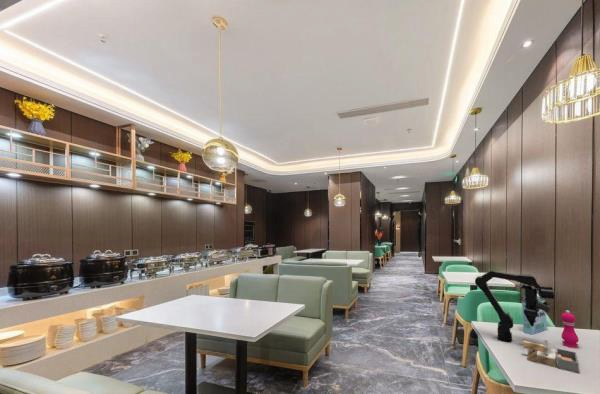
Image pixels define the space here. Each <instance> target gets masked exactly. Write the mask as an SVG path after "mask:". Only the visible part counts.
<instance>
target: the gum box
mask: <svg viewBox="0 0 600 394" xmlns="http://www.w3.org/2000/svg"><path fill="white" fill-rule="evenodd" d="M537 299H538V301H539V302H542V303H543V302H546V300H545V299H546V298H541V297H540V296H539V295H538V292H537ZM521 308H522V311H521V312H522V325H523V326H522V327H523V333H524V334H527V335H530V336H531V335H535V334H537V333H541V332H544V331H547V330H548V324H547V314H546V313H547V312H545V311H543V310H541V309H539V312H538V317H536V318H535V322H534V326H531V325H530V323H529V321H528V319H527V318H526V316H525V314H524V309H525V308H526V307H525V295H523V296H521ZM537 310H538V309H537Z"/></svg>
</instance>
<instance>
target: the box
mask: <svg viewBox="0 0 600 394" xmlns="http://www.w3.org/2000/svg"><path fill="white" fill-rule="evenodd" d="M558 354H559V355H561V356H562V357H566V358H571V359H572V361H573V362H572V361H568V360H563V359H559V358H558ZM555 359H556V368H557V369H560V370H564V371H569V372H573V373H577V374H580V367H579V366H580V365H579V360H578V356H577V352H575V351H571V350H566V349H562V348H556V351H555Z"/></svg>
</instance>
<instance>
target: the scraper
mask: <svg viewBox="0 0 600 394" xmlns="http://www.w3.org/2000/svg"><path fill="white" fill-rule="evenodd" d="M548 344H549V343H548V340H546V339H545V340H544V344H542V343H538V342H532V341H528V340H525V339H524V340H522V345H523V349H528V350H529V349H530V350H531V349H532V350H536V351H541V352H545V356H548V348H549V346H548Z"/></svg>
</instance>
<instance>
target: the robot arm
mask: <svg viewBox="0 0 600 394" xmlns="http://www.w3.org/2000/svg"><path fill="white" fill-rule="evenodd" d="M494 278H497V279H501V280H506V281H507V280H508V281H514V282H516V283H521V284H522V285H520V289H523V290H524V296H525V307H526V308H525V309H524V314H525V316H526V318H527V319H528V321H529V323H530V325H531V326H534V322H535V318H536V317H538V312H539V309H541V310H543V311H545V312H546V313H547V314H548V313H550V310H551V307H552V306H551V305H549V303H548V302H547V301H545V302H543V303H542V302H539V301H538V299H537V293H538V295H539V296H540V297H541V298H545V299H547V300H555V294H554V289H553V286H543V285H540V284H539V283H538V282H537V278H536V277H535V276H534V275H533V274H526V273H522V274H521V273H520V274H518V273H517V274H515V273H511V272H510V273H509V272H504V271H497V270H491V269H490V270H489V271H488V272H486V273H484V274H483V275H478V276H476V278H475V280H474V283H475V285H476V286H477V287H478V288H479V289H480V290H481V292H483V293H484V294H483V295H485V297H486V299H487V301H489V303H490V305H491V306H492V307H493V309H494V310H495V312H496V313H497V316H498V318H499V321H498V323H497V328H496V329H497V341H502V342H506V343H511V342H512V341H513V335H512V334H513V333H512V332H511V329H513V328H514V318H513V317H512V316H511V314H510V312H509V311H508V312H506V311H505V310H504V309H503V308H502V306H501V304H500V303H499V301H498V300H497V297H495V296H494V294H493V292H492V291H491V290H490V286H489V284H488V282H489V281H490V280H492V279H494ZM537 309H538V310H537Z"/></svg>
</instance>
